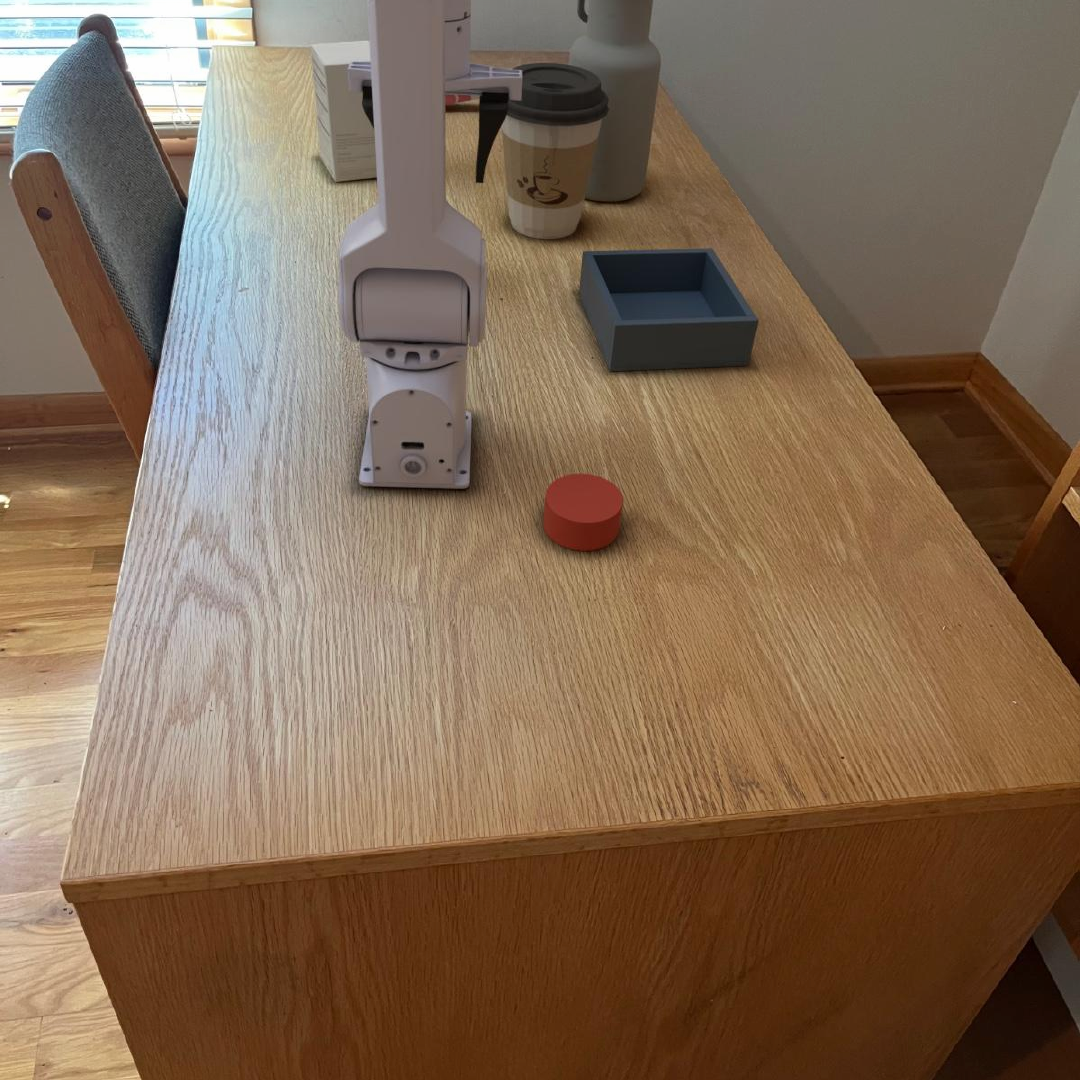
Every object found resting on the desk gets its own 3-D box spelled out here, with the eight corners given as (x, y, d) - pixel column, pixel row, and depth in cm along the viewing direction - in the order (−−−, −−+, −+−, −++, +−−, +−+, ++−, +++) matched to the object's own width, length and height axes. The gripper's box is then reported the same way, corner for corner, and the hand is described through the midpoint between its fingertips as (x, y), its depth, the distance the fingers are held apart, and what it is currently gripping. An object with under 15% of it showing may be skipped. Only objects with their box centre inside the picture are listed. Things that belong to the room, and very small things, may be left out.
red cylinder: (622, 552, 71) (626, 523, 69) (544, 550, 70) (546, 521, 69) (615, 502, 75) (619, 474, 73) (541, 500, 74) (544, 472, 73)
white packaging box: (380, 152, 121) (375, 38, 113) (397, 177, 116) (393, 59, 108) (318, 158, 119) (308, 41, 111) (333, 183, 114) (323, 63, 105)
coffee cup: (486, 244, 105) (491, 92, 95) (494, 198, 113) (498, 55, 103) (597, 252, 105) (613, 101, 95) (596, 206, 113) (610, 63, 104)
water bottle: (548, 170, 120) (567, -108, 102) (627, 166, 123) (659, -106, 104) (573, 206, 113) (598, -86, 94) (656, 201, 115) (696, -84, 97)
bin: (748, 365, 90) (759, 320, 87) (609, 371, 88) (615, 325, 85) (704, 291, 100) (712, 247, 97) (578, 294, 98) (582, 250, 95)
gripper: (523, 3, 87) (516, 163, 96) (350, -6, 86) (360, 155, 95) (525, 27, 81) (517, 194, 90) (341, 17, 80) (352, 186, 89)
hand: (436, 176), depth 92 cm, fingers open, 7 cm apart
